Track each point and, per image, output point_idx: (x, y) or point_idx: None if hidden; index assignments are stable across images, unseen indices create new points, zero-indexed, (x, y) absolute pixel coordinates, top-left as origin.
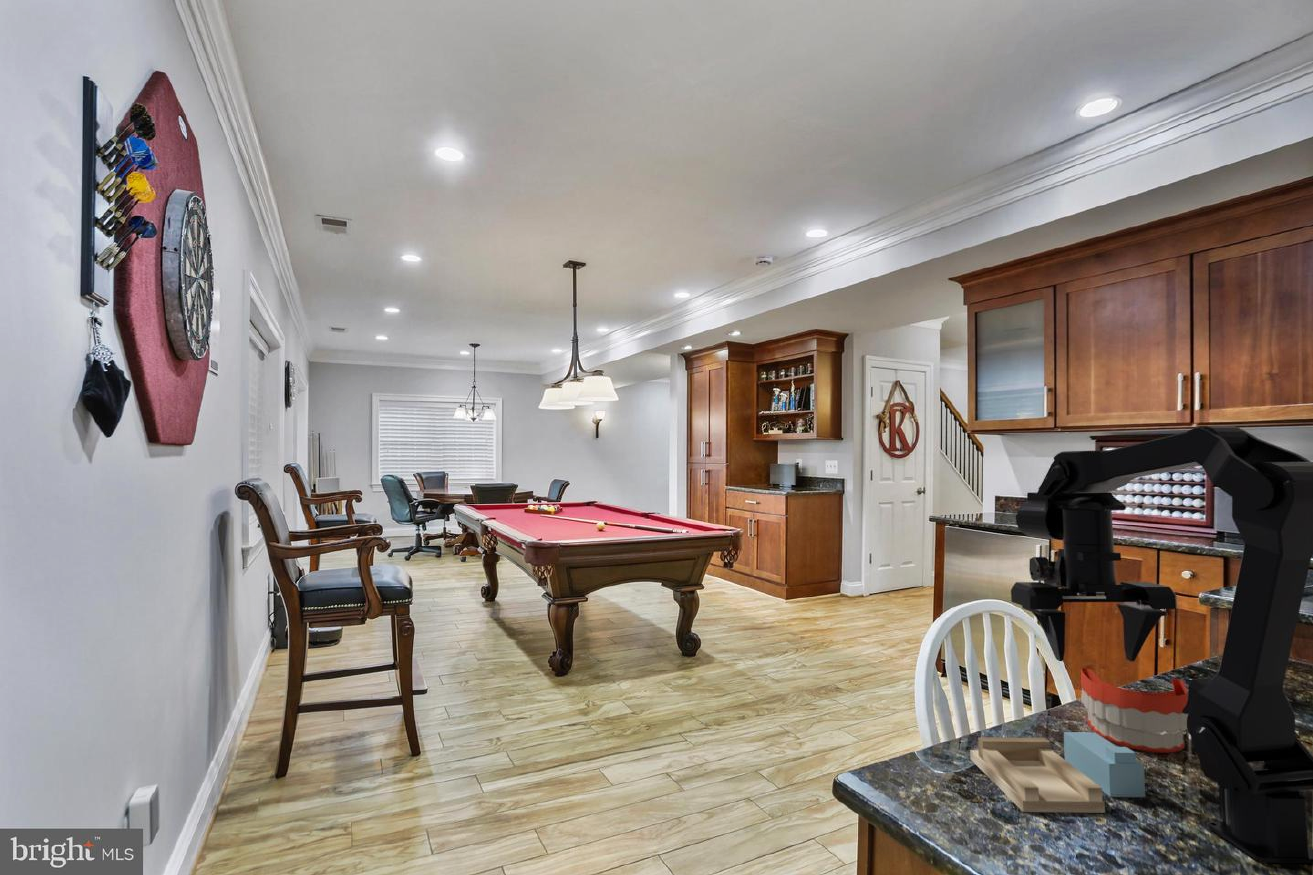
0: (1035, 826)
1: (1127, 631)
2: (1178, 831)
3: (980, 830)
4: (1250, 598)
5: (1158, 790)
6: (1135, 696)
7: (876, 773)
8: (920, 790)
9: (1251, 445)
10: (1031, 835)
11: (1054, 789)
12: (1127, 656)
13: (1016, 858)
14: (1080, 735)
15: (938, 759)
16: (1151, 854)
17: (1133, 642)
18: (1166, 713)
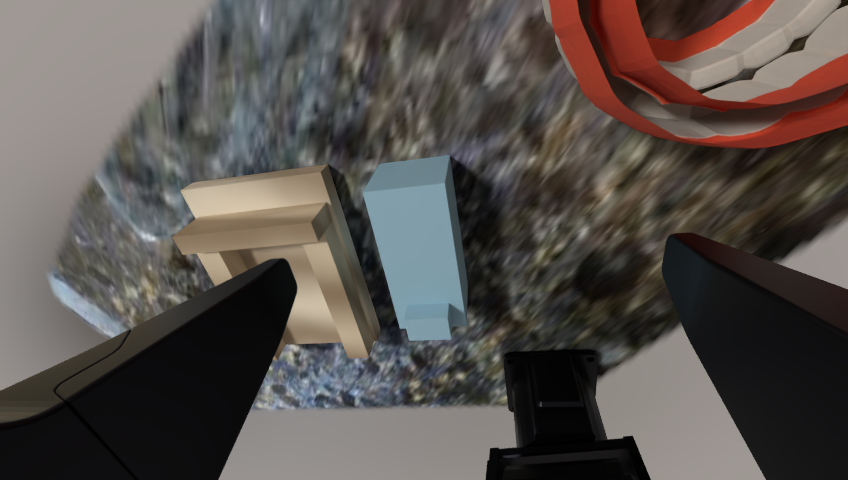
0: (282, 358)
1: (811, 379)
2: (458, 359)
3: None
4: None
5: (507, 262)
6: (652, 127)
7: (62, 254)
8: (138, 294)
9: None
10: (275, 372)
11: (314, 315)
12: (673, 256)
13: (256, 402)
14: (397, 208)
15: (137, 190)
16: (396, 394)
17: (725, 378)
18: (720, 142)
